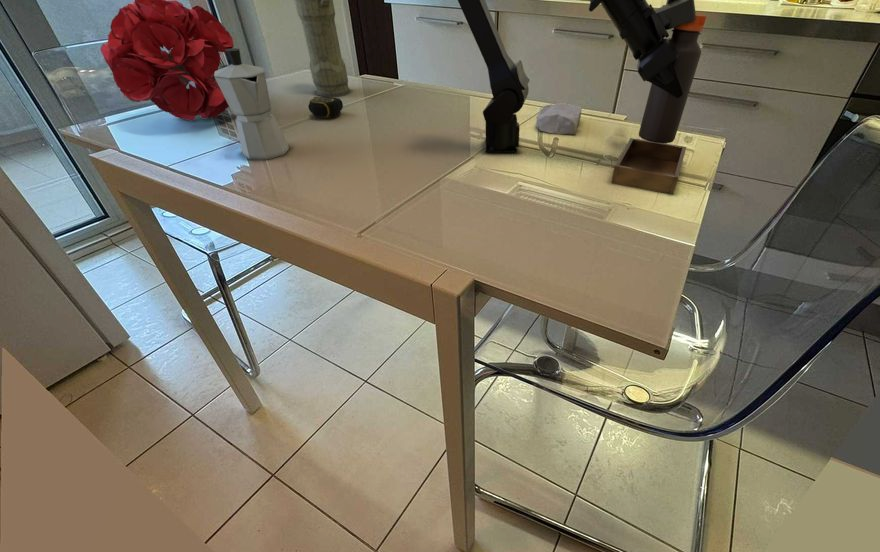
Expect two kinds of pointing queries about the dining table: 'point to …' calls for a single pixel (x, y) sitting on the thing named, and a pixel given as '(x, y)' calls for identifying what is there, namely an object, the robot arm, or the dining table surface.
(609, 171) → the dining table surface
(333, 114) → the tape measure
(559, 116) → the stone block
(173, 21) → the bouquet
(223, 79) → the coffee maker
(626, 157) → the tray
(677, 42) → the vinegar
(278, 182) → the dining table surface
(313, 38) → the greenish beige column
